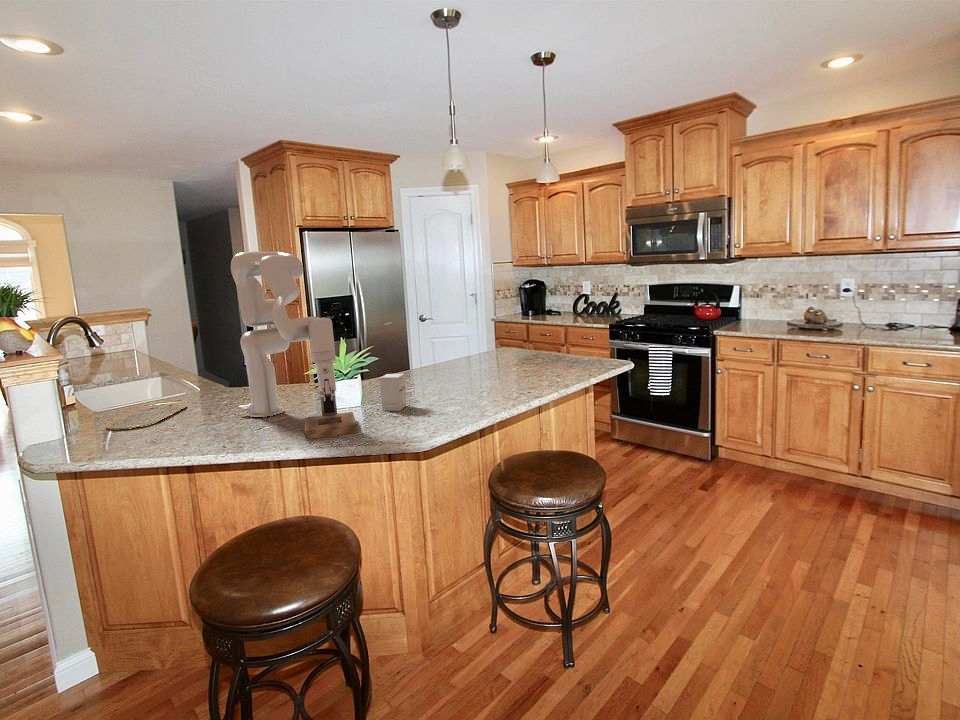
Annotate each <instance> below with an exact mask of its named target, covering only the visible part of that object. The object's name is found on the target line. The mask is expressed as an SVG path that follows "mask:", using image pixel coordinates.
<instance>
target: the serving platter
mask: <svg viewBox="0 0 960 720" xmlns="http://www.w3.org/2000/svg"><path fill="white" fill-rule="evenodd" d="M172 403H180V404H185V405H186V406H185V407H186V408H187V407H188V404H187V403H185V402H181V401H180V402H176V401H174V402H165V403H163V402H162V403H157V404H155V405H161V404H172ZM152 405H153V404H151V405H150V406H152ZM148 406H149V405H147V406H143V407H141V408H138V409H136V410H133V411H131V412H129V413H126V414H124V415H122V416H120V417H118V418H115V419H113V420H111V421H109V422H107V423H106V424H105V428H107V429H109V430H111V429H114V430H113V431H121V430H120V429H129V428H135V427H141V426H145V425H149V424H152V423H155V422H158V421H160V420H162V419H164V418H166V417H168V416H170V415H171V414H173V413H175V412H177V411H179V410H181V409H183V408H185V407H181V408H179V409H177V410H176V411H174V412H172V413H170V414H168V415H166V416H164V417H162V418H160V419H158V420H155V421H151V422H147V423H142V424H138V425H132V426H122V427H113V426H112V427H109V426H110V425H111V424H113V423H115V422H117V421H119V420H121V419H122V418H124V417H126V416H128V415H130V414H132V413H133V412H135V411H137V410H139V409H142V408H145V407H148ZM186 408H185V409H186ZM183 410H184V409H183ZM170 417H171V416H170ZM168 418H169V417H168ZM118 429H119V430H118ZM129 430H130V429H129Z"/></svg>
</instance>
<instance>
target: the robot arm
mask: <svg viewBox="0 0 960 720" xmlns="http://www.w3.org/2000/svg"><path fill="white" fill-rule="evenodd" d="M230 272H231V275H232V278H233V281H234V283H235V285H236V288H237V294H238V295H237V296H238V301H239V308H240V316H241V321H242V323H243V324H244V326H247V327H261V326H262V327H264V326H270V328H263V329H255V330H249V331H247V332H245V333H243V334H242V335H241V337H240V341H239V343H240V347H241V350H242V355H243V356H244V361H245V367H246V375H247V380H248V381H247V382H248V389H249V396H250V403H248V404H247V405H239V406H238V411H239V412H247V416H248V417H249V416H250V417H249V418H252V417H263V418H268V417H267V416H270V417H274V416H273V415H275V416H278V415H280V413H281V414H282V413H283V412H285V409H284V407H283V406H280V405H279V396H278V395H279V394H278V387H277V385H278V384H277V378H276V369H275V365H274V363H273V362H272V361H271V359H270V358H269V357H268V355H271V354H272V355H273V354H278V353H283V352H286V351H287V350H288V349H289V348H290V345H291V344H290V343H297V342H303V341H309V347H310V349H309V350H310V358H311V359H310V360H311V362H312V363H313V364H314V363H315V367H316V375H317V381H318V386H319V389H320V390H319V391H321V392H322V393H323V396H324V401H323V404H324V413H333V412H335V410H334V400H333V398H332V390H334V391H335V392H336V391H337V385H336V375H335V366H334V361H336V359H337V357H336V349H335V347H336V346H335V337H334V328H333V322H332V319H331V318H329V317H318V316H313V315H312V316H304V317H296V318H295V317H293V318H290V317H289V316H288V314H287V313H288V312H287V309H286V307H285V306H287V305H288V304H290V303H293V301H295V300H296V299H297V298H298V297H299V295H300V293H301V290H300V287H299V285H298V284H297V282H296V281H295V280H296V279H300V278H301V277H302V275H303V274H304V267H303V263H302V261H301V259H300V258H299V257H297V256H296V255H295V254H292V253H291V254H290V253H287V252H286V253H285V252H280V251H243V252H239V253H237V254H235V255H234V256H233V257H232V258H231V262H230ZM258 276H259V277H261V276H262V277H263V279H264V281H265V283H266V284H267V286H268V288H269V290H270V291H271V294H272V296H273V297H274V298H267V299H265V293H264V288H263V285H262V284H261V283H260V281H259V280H258V279H257V278H256V277H258ZM329 389H330V391H329ZM324 390H325V391H326V392H324ZM325 398H326V399H325ZM277 414H278V415H277Z"/></svg>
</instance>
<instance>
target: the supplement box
mask: <svg viewBox="0 0 960 720" xmlns="http://www.w3.org/2000/svg"><path fill="white" fill-rule="evenodd" d="M405 379H406V378H405V373H386V374H384V375H383V376H381V377H379V384H380V385H379V386H380V388H379V389H380V399H381V411H385V412H387V411H388V412H389V411H391V412H393V411H394V412H395V411H396V412H397V411H398V412H399V411H401V410H402V409H404V408H405V407H406V406H407V394H406V380H405Z"/></svg>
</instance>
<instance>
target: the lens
mask: <svg viewBox="0 0 960 720" xmlns="http://www.w3.org/2000/svg"><path fill="white" fill-rule="evenodd" d="M329 391H330V389H329ZM324 392H326V391H325V390H324ZM319 398H320V399H319V400H320V408H321V416H333V415H336V414H338V409H337V408H338V407H337V398H336V391H334V390H332V398H333V400H334V410H335V412H333V413H324V404H323V401H324V396H323V393H322V392H321V390H319ZM325 399H326V398H325Z"/></svg>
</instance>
